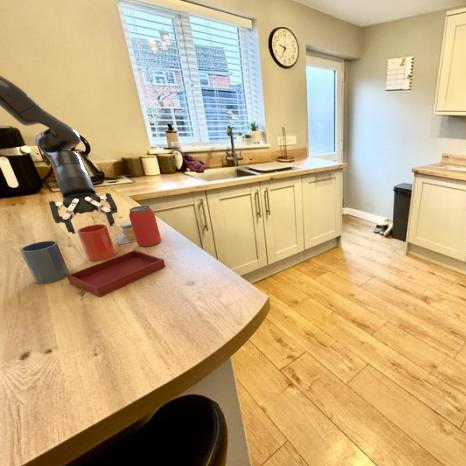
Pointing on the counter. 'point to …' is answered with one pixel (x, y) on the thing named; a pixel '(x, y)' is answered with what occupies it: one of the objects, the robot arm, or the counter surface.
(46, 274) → the blue cup
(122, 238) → the stacked layers on plate
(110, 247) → the red cup
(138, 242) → the beer can
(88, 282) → the red tray
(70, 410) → the counter surface
